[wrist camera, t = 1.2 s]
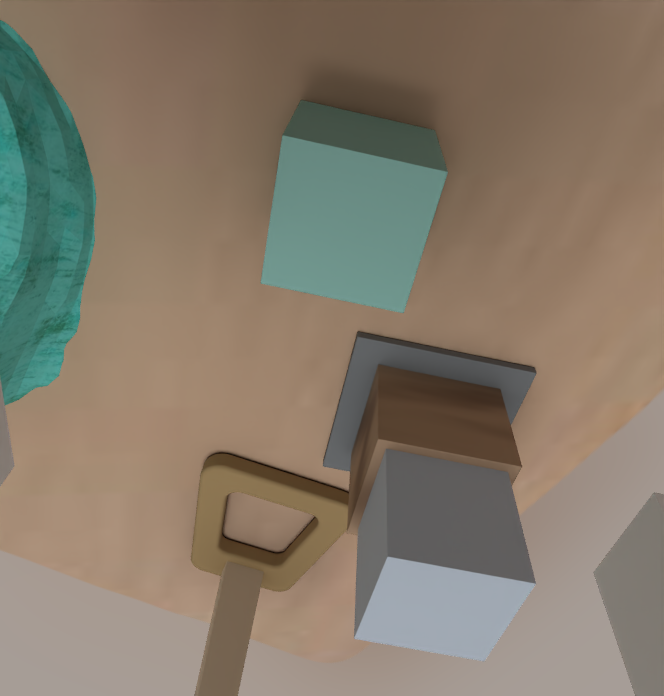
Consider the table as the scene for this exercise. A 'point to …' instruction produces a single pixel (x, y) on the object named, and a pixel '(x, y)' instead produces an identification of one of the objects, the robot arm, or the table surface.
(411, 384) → the base block
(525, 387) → the coaster
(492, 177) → the table surface
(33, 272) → the decorative stone
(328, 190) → the teal block
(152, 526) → the table surface
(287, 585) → the headphone stand
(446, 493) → the gray block
